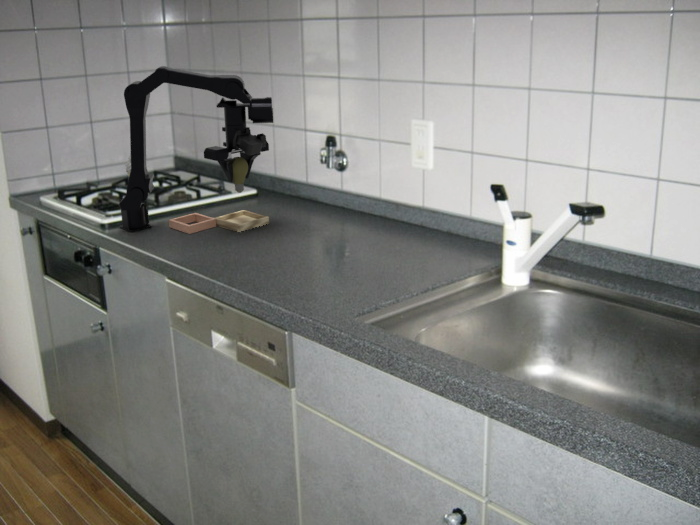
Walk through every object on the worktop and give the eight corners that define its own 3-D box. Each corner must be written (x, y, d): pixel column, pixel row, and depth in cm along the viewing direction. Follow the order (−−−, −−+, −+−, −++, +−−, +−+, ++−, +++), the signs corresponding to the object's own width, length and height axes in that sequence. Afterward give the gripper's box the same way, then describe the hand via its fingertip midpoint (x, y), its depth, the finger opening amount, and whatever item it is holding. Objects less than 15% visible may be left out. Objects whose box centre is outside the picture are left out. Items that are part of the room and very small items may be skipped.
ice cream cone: (127, 194, 249) (122, 148, 244) (143, 192, 251) (138, 147, 246) (130, 198, 245) (125, 151, 239) (146, 196, 247) (141, 149, 241)
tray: (239, 232, 210) (238, 225, 209) (213, 224, 217) (213, 218, 216) (269, 223, 217) (269, 217, 217) (243, 216, 224) (243, 209, 224)
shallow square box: (189, 234, 209) (188, 226, 208) (169, 227, 215) (168, 219, 214) (216, 226, 215) (215, 218, 215) (196, 220, 221) (195, 212, 221)
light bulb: (225, 194, 212) (223, 158, 209) (234, 189, 217) (232, 154, 214) (244, 195, 211) (242, 159, 207) (252, 190, 216) (251, 155, 212)
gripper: (227, 132, 196) (231, 191, 201) (281, 122, 209) (283, 178, 214) (200, 127, 203) (204, 184, 208) (254, 118, 216) (256, 172, 221)
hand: (238, 180), depth 213 cm, fingers closed on light bulb, 5 cm apart
